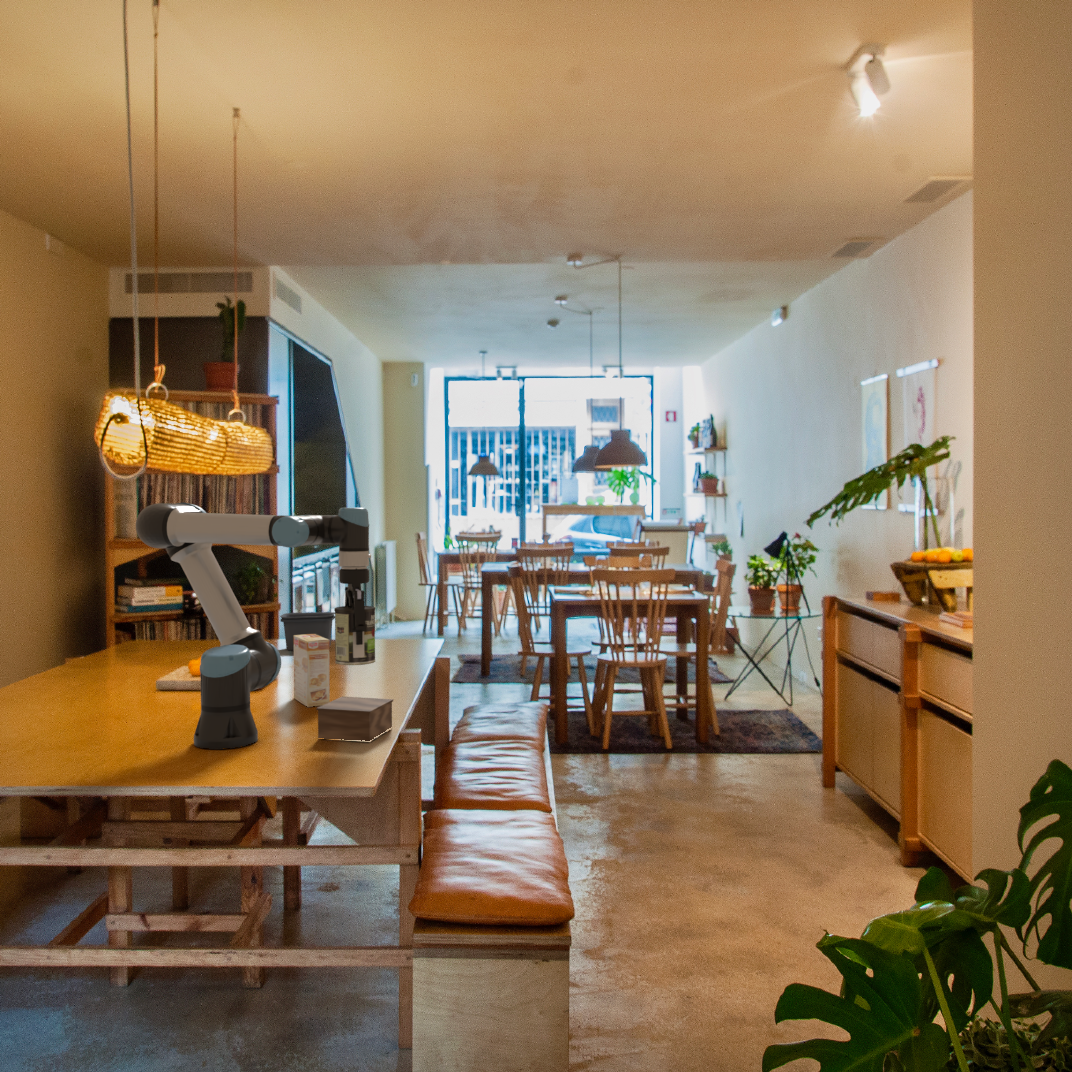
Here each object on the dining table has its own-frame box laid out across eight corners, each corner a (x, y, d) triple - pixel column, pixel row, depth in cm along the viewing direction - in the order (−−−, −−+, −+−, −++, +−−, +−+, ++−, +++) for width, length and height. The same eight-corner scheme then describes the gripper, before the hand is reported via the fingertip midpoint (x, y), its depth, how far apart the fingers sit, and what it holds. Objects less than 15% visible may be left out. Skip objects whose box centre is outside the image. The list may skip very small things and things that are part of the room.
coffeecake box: (330, 705, 273) (330, 639, 272) (306, 707, 269) (306, 641, 269) (316, 696, 286) (315, 633, 285) (293, 698, 282) (292, 634, 282)
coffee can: (381, 659, 242) (381, 605, 241) (366, 666, 232) (366, 610, 231) (344, 658, 244) (344, 604, 243) (328, 664, 234) (327, 609, 233)
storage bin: (278, 651, 370) (278, 616, 370) (285, 645, 386) (285, 611, 385) (332, 651, 372) (332, 615, 372) (337, 645, 388) (337, 611, 387)
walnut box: (370, 743, 229) (369, 711, 229) (316, 739, 233) (316, 708, 233) (393, 729, 244) (393, 699, 243) (342, 726, 247) (342, 696, 247)
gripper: (377, 570, 228) (378, 660, 229) (360, 564, 249) (361, 646, 250) (346, 571, 225) (347, 662, 226) (332, 565, 246) (333, 648, 247)
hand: (354, 654), depth 238 cm, fingers closed on coffee can, 10 cm apart
